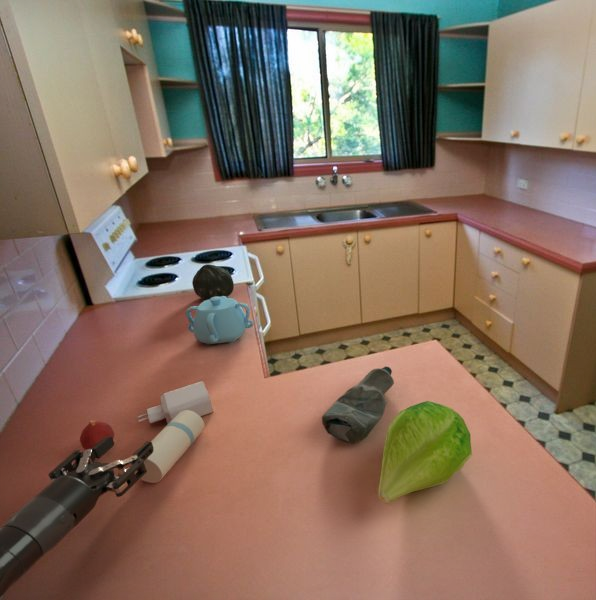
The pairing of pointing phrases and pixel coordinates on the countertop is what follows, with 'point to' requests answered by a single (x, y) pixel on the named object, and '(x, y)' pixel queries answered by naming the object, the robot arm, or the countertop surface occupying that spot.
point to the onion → (95, 434)
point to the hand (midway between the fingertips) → (131, 442)
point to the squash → (212, 282)
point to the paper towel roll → (172, 444)
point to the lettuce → (422, 449)
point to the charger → (181, 403)
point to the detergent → (359, 407)
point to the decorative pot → (219, 320)
